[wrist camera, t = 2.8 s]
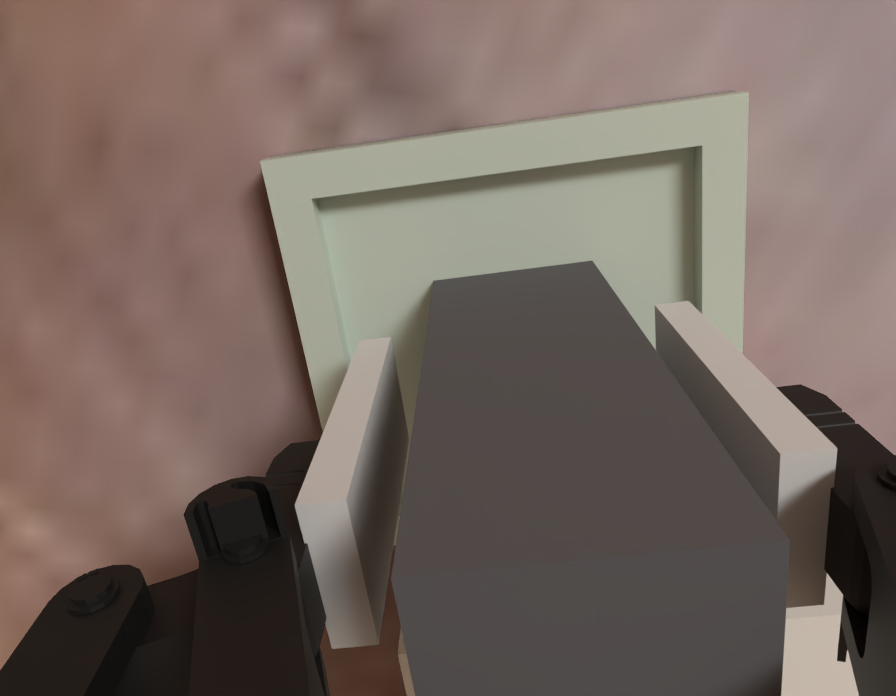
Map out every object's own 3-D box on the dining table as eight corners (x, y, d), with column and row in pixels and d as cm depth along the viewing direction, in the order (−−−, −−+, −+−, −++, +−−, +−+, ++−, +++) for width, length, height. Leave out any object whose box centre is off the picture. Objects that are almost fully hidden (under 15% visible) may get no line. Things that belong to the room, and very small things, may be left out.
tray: (355, 528, 21) (350, 550, 20) (271, 156, 17) (259, 161, 16) (725, 491, 20) (738, 511, 19) (731, 91, 16) (749, 91, 15)
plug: (454, 420, 19) (444, 835, 8) (433, 280, 17) (390, 579, 7) (600, 403, 18) (774, 812, 8) (592, 260, 17) (790, 540, 7)
